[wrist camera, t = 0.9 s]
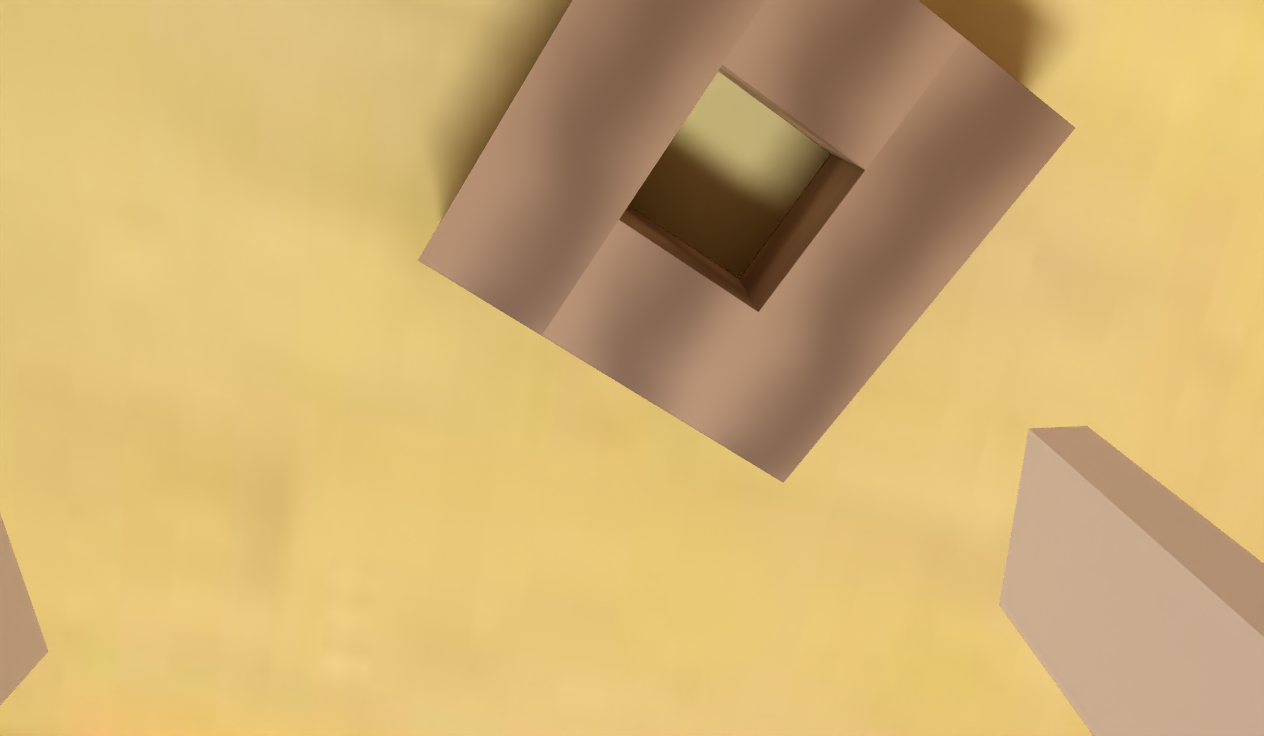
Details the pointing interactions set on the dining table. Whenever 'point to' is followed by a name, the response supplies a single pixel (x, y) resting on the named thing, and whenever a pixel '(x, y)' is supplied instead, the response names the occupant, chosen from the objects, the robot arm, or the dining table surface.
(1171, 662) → the robot arm
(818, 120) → the socket block
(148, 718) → the dining table surface
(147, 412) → the dining table surface
